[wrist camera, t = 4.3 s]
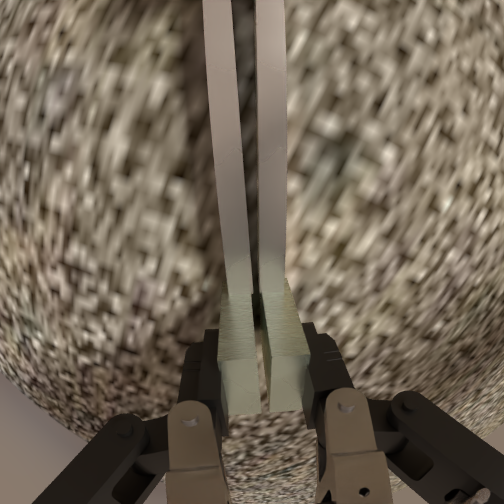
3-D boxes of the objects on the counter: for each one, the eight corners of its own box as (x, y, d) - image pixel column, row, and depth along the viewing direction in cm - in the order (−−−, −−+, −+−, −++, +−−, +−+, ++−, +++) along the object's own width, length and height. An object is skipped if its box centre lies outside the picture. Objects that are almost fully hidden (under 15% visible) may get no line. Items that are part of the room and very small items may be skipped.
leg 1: (196, -57, 7) (180, -122, 2) (226, -60, 7) (223, -127, 2) (230, 333, 14) (229, 415, 10) (256, 331, 14) (264, 413, 10)
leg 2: (252, -61, 7) (260, -127, 2) (281, -59, 7) (302, -124, 2) (257, 331, 14) (266, 412, 10) (283, 330, 14) (301, 409, 10)
